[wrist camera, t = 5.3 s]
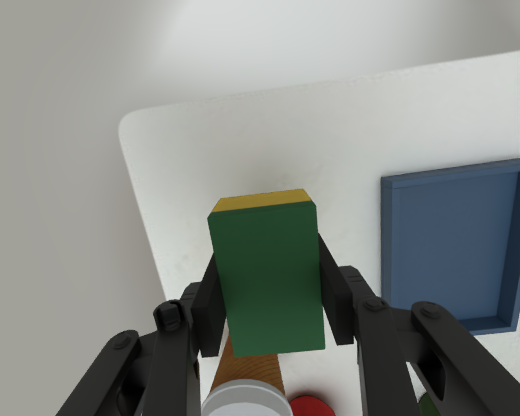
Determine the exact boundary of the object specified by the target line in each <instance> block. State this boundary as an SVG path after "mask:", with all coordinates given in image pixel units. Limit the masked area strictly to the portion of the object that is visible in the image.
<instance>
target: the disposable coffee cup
mask: <svg viewBox="0 0 520 416" xmlns="http://www.w3.org/2000/svg"><path fill="white" fill-rule="evenodd" d="M280 372H281V371H280V367H279V362H278V357H277V354H267V355H256V356H245V357H234V353H233V348H232V342H231V337H230V332H229V336H228V339H227V342H226V345H225V348H224V351H223V354H222V357H221V360H220V363H219V366H218V369H217V372H216V375H215V378H214V381H213V384H212V387H211V390H210V393H209V395H208V396H207V398H206V400H205V401H204V402H203V404H202V407H201V416H293V413H292V409H291V406H290V405H289V403H288V401H287V399H286V396H285V390H284V386H283V381H282V376H281V373H280Z"/></svg>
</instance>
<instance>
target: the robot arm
mask: <svg viewBox="0 0 520 416" xmlns="http://www.w3.org/2000/svg"><path fill="white" fill-rule="evenodd" d="M318 243H319V258H320V274H321V290H322V304H323V307H324V310H325V313H326V316H327V318H328V321H329V324H330V327H331V330H332V333H333V336H334V339H335V341H336V344H337V345H348V344H354V336H355V339H356V341H357V364H358V365H359V377H360V388H361V400H362V411H363V416H421V413H420V410H419V406H418V403H417V399H416V396H415V392H414V389H413V385H412V382H411V378H410V375H409V371H408V368H407V364H406V362H410V364H411V366H412V367H413V369H414V371H415V372H416V374H417V376H418V377H419V379H420V381H421V382H422V384H423V386H424V388H425V389H426V391H427V393H428V394H429V396H430V398H431V399H432V401H433V403H434V404H435V406H436V408H437V409H438V411H439V413H440V414H441V416H520V383H519V382H518V381H517V380H516V379H515V378H514V377H513V376H512V375H511V374H510V373H509V372H508V371H507V370H506V369H505V368H504V367H503V366H502V365H501V364H500V363H499V362H498V361H497V360H496V359H495V358H494V357H493V356H492V355H491V354H490V353H489V352H488V351H487V350H486V349H485V348H484V347H483V346H482V345H481V344H480V342H479V341H478V340H477V339H476V338H475V337H474V336H473V335H472V334H471V333H470V332H469V331H468V330H467V329H466V328H465V327H464V326H463V325H462V324H461V323H460V322H459V321H458V320H457V319H456V318H455V317H454V316H453V315H452V314H451V313H450V312H449V311H448V310H447V309H445V308H444V307H443V306H441V305H439V304H436V303H433V302H429V301H418V302H415V303H414V304H412V307H411V310H407V309H399V308H394V307H390V306H389V304H388V302H386V301H385V300H384V299H382V298H380V297H377V296H376V295H375V294H374V293H373V291H372V290H371V288H370V287H369V285H368V284H367V282H366V281H365V280H364V278H363V277H362V275H361V274H360V272H359V271H358V270H357V269H355V268H354V267H352V266H341V267H338V266H337V264H336V262H335V260H334V259H333V257H332V255H331V253H330V252H329V250H328V248H327V246H326V245H325V243H324V241H323V239H322V237H321V236H320V234H319V233H318ZM153 316H154V319H155V322H156V326H157V331H155V332H152V333H150V334H147V335H144V336H141V337H139V335H138V332H137V331H135V330H127V331H123V332H121V333H119V334H117V335H115V336H114V337H112V338H111V339H110V340H109V341H108V342H107V344H106V345H105V346H104V348H103V349H102V350H101V352H100V353H99V355H98V356H97V358H96V359H95V360H94V362H93V363H92V365H91V366H90V368H89V369H88V370H87V372H86V373H85V375H84V376H83V377H82V379H81V380H80V382H79V383H78V385H77V386H76V387H75V389H74V390H73V392H72V393H71V394H70V396H69V397H68V399H67V400H66V402H65V403H64V404H63V406H62V407H61V409H60V410H59V411H58V413H57V414H56V416H141V414H142V416H201V401H200V375H199V362H198V359H197V356H198V353H199V350H200V351H201V355H202V358H204V357H215V356H218V354H219V349H220V344H221V339H222V334H223V329H224V324H225V319H226V309H225V304H224V299H223V293H222V288H221V283H220V278H219V273H218V271H217V266H216V261H215V256H214V253H213V255H212V257H211V260H210V262H209V265H208V267H207V269H206V272H205V274H204V277H203V279H202V281H201V282H194V283H191V284H190V285H189V286H187V287H186V288H185V290H184V292H183V294H182V296H181V298H180V300H177V299H174V300H169V301H166V302H164V303H162V304H161V305H159V306H158V307H157V308H156V309H155V310H154V312H153ZM142 411H143V412H142Z"/></svg>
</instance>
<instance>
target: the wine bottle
mask: <svg viewBox="0 0 520 416" xmlns="http://www.w3.org/2000/svg"><path fill="white" fill-rule="evenodd" d="M419 410H420V413H421V416H441V414H440V413H439V411H438V409H437V408H436V406H435V404H434V403H433V401H432V399H431V398H430V396H429V394H428V393H426V394H425V395H424V396H423V397H422V398H421V400H420V402H419Z"/></svg>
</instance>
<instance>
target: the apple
mask: <svg viewBox="0 0 520 416" xmlns="http://www.w3.org/2000/svg"><path fill="white" fill-rule="evenodd" d="M289 405H290V406H291V409H292V413H293V416H336V415H335V413H334V411H333V410H332V409H331V408H330V407H329V406H328V405H326V404H325V403H324V402H322V401H321V400H319V399H318V398H315V397H312V396H301V397H298V398H296V399H294V400H292V401H291V402H290V404H289Z"/></svg>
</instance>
